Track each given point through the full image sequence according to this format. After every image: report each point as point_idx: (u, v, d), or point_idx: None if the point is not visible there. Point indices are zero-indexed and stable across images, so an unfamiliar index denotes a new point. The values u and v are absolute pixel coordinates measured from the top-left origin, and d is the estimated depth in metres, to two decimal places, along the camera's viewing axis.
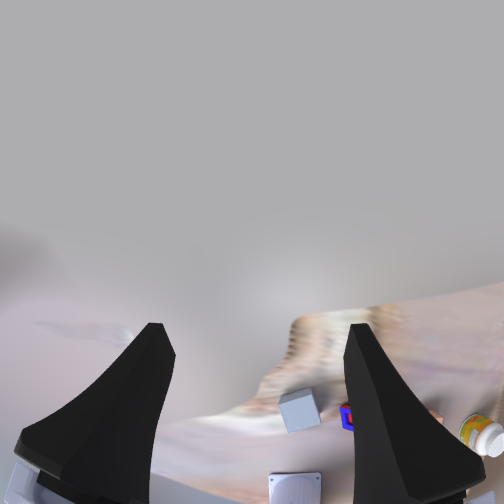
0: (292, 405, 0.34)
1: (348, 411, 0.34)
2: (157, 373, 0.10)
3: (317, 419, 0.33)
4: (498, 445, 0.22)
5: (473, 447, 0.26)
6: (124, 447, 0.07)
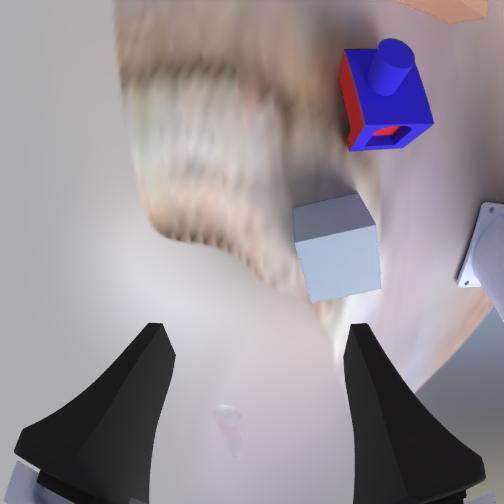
0: (318, 279, 0.17)
1: (361, 142, 0.14)
2: (157, 373, 0.10)
3: (363, 232, 0.15)
4: None
5: None
6: (124, 447, 0.07)
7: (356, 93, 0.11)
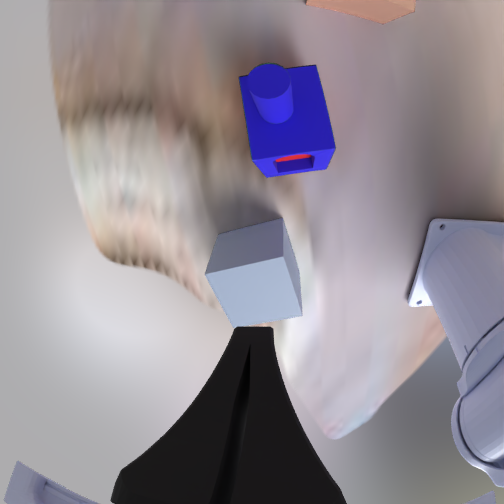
0: (234, 307, 0.18)
1: (269, 170, 0.15)
2: None
3: (270, 264, 0.16)
4: None
5: None
6: (234, 467, 0.07)
7: (247, 125, 0.12)
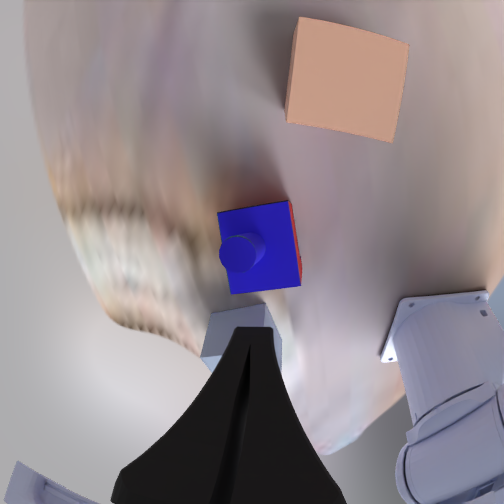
0: None
1: None
2: None
3: None
4: None
5: None
6: (234, 467, 0.07)
7: None
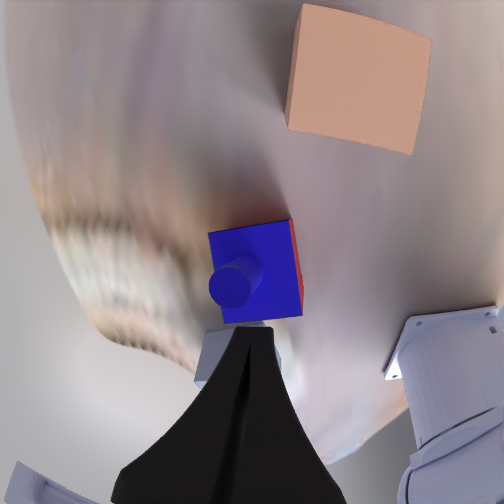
0: None
1: None
2: None
3: None
4: None
5: None
6: (234, 467, 0.07)
7: None
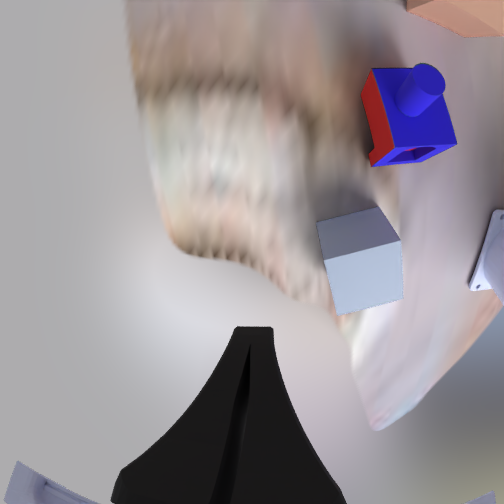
0: (345, 293, 0.17)
1: (385, 159, 0.14)
2: None
3: (388, 247, 0.15)
4: None
5: None
6: (234, 467, 0.07)
7: (385, 114, 0.11)
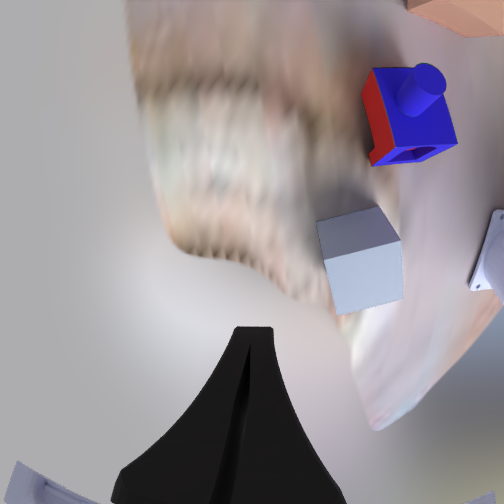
0: (344, 293, 0.17)
1: (386, 159, 0.14)
2: None
3: (388, 248, 0.15)
4: None
5: None
6: (234, 467, 0.07)
7: (386, 114, 0.11)
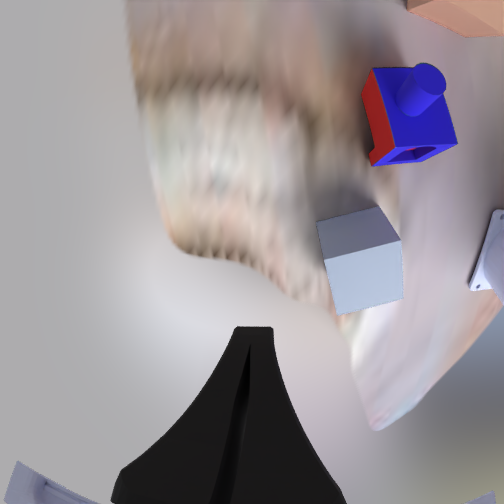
0: (345, 293, 0.17)
1: (386, 159, 0.14)
2: None
3: (388, 247, 0.15)
4: None
5: None
6: (234, 467, 0.07)
7: (385, 114, 0.11)
